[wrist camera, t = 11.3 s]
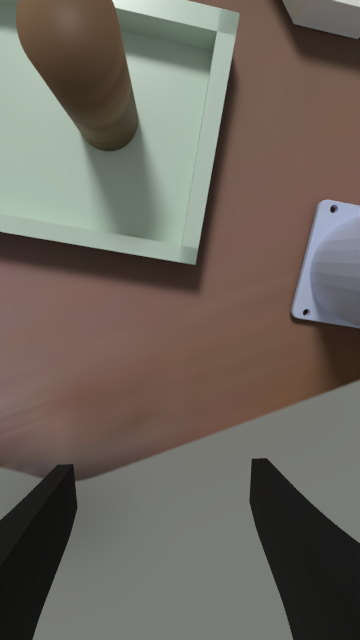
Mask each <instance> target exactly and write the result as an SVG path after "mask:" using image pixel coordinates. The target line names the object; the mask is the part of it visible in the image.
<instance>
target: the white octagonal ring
mask: <svg viewBox="0 0 360 640" xmlns="http://www.w3.org/2000/svg"><path fill="white" fill-rule="evenodd" d="M282 1H283V3H284V5H285V7H286V9H287V11H288V13H289V15H290V17H291V19H292V21H293V23H294V24H296V25H300V26H304V27H308V28H312V29H317V30H321V31H325V32H329V33H333V34H337V35H342V36H346V37H350V38H354V39H358V38H359V37H360V0H282Z"/></svg>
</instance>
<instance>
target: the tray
mask: <svg viewBox="0 0 360 640" xmlns="http://www.w3.org/2000/svg"><path fill="white" fill-rule="evenodd" d="M112 1H113V3H114V6H115V9H116V13H117V17H118V21H119V26H120V31H121V36H122V41H123V45H124V50H125V55H126V60H127V65H128V69H129V74H130V79H131V84H132V89H133V93H134V98H135V103H136V108H137V113H138V126H137V130H136V133H135V135H134V137H133V139H132V140H131V141H130V142H129V144H127V145H126V146H125V147H123V148H121V149H119V150H116V151H103V150H99V149H97V148H95V147H93V146H92V145H91V144H89V143H88V142H87V141H86V140H85V138H84V137H83V136H82V134H81V133H80V131H79V130H78V128H77V127H76V126H75V124H74V123H73V121H72V120H71V118H70V117H69V116H68V114H67V113H66V111H65V110H64V109H63V107H62V106H61V104H60V103H59V101H58V100H57V99H56V97H55V96H54V94H53V93H52V91H51V90H50V89H49V87H48V86H47V84H46V83H45V81H44V80H43V79H42V77H41V76H40V74H39V73H38V72H37V70H36V69H35V67H34V66H33V64H32V63H31V62H30V60H29V59H28V57H27V55H26V54H25V52H24V50H23V48H22V46H21V43H20V40H19V37H18V33H17V27H16V9H17V3H18V0H0V232H5V233H10V234H16V235H22V236H28V237H34V238H40V239H46V240H52V241H57V242H63V243H69V244H75V245H81V246H87V247H93V248H99V249H105V250H110V251H116V252H122V253H128V254H134V255H140V256H146V257H152V258H157V259H163V260H169V261H175V262H181V263H187V264H193V265H195V264H196V259H197V253H198V247H199V242H200V236H201V230H202V224H203V219H204V213H205V207H206V202H207V196H208V190H209V185H210V179H211V173H212V168H213V162H214V156H215V151H216V145H217V139H218V133H219V128H220V122H221V116H222V111H223V105H224V99H225V94H226V88H227V82H228V77H229V71H230V65H231V60H232V54H233V48H234V42H235V37H236V31H237V25H238V20H239V14H240V13H238V12H233V11H229V10H225V9H221V8H217V7H212V6H208V5H204V4H200V3H196V2H191V1H187V0H112Z"/></svg>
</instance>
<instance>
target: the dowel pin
mask: <svg viewBox="0 0 360 640" xmlns="http://www.w3.org/2000/svg"><path fill="white" fill-rule="evenodd" d="M16 27H17V33H18V37H19V40H20V43H21V46H22V48H23V50H24V52H25V54H26V55H27V57H28V59H29V60H30V62H31V63H32V64H33V66H34V67H35V69H36V70H37V72H38V73H39V74H40V76H41V77H42V79H43V80H44V81H45V83H46V84H47V86H48V87H49V89H50V90H51V91H52V93H53V94H54V96H55V97H56V99H57V100H58V101H59V103H60V104H61V106H62V107H63V109H64V110H65V111H66V113H67V114H68V116H69V117H70V118H71V120H72V121H73V123H74V124H75V126H76V127H77V128H78V130H79V131H80V133H81V134H82V136H83V137H84V138H85V140H86V141H87V142H88V143H89V144H91V145H92V146H93V147H95V148H97V149H99V150H103V151H116V150H119V149H121V148H123V147H125V146H126V145H127V144H129V142H130V141H131V140H132V139H133V137H134V135H135V133H136V130H137V126H138V113H137V108H136V103H135V98H134V93H133V89H132V84H131V79H130V74H129V69H128V65H127V60H126V55H125V50H124V45H123V41H122V36H121V31H120V26H119V21H118V17H117V13H116V9H115V6H114V3H113V1H112V0H18V3H17V9H16Z"/></svg>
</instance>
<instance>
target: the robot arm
mask: <svg viewBox="0 0 360 640" xmlns="http://www.w3.org/2000/svg"><path fill="white" fill-rule="evenodd" d="M331 206H333V207H334V208H335V211H334V213H331V211H330V208H331ZM305 309H307V310H308V312H307V314H306V315H303V311H304V310H305ZM291 314H292V316H293V317H296V318H299V319H305V320H311V321H318V322H324V323H330V324H336V325H342V326H349V327H355V328H360V206H358V205H353V204H348V203H343V202H338V201H332V200H324V201H321V202H320V203H319V204H318V206H317V208H316V212H315V216H314V220H313V224H312V228H311V232H310V236H309V240H308V244H307V248H306V252H305V256H304V260H303V264H302V268H301V272H300V276H299V280H298V284H297V288H296V292H295V295H294V299H293V303H292V307H291ZM250 486H251V487H250V505H251V510H252V514H253V518H254V522H255V526H256V529H257V532H258V535H259V538H260V541H261V543H262V546H263V549H264V552H265V555H266V557H267V560H268V563H269V565H270V568H271V571H272V574H273V577H274V579H275V582H276V585H277V588H278V590H279V593H280V596H281V599H282V602H283V605H284V608H285V611H286V614H287V618H288V622H289V625H290V629H291V633H292V636H293V640H360V543H358V542H357V541H356V540H354V539H353V538H352V537H351V536H349V535H348V534H347V533H346V532H344V531H343V530H341V529H340V528H339V527H338V526H337V525H335V524H334V523H333V522H332V521H331V520H329V519H328V518H327V517H326V516H325V515H324V514H323V513H321V512H320V511H319V510H318V509H317V508H316V507H314V505H312V504H311V503H310V502H309V501H308V500H307V499H306V498H305V497H304V496H303V495H302V494H301V493H300V492H299V491H298V490H297V489H296V488H294V486H293V485H292V484H291V483H290V482H289V481H288V480H287V479H286V478H285V477H284V476H283V475H282V474H281V473H280V472H279V471H278V470H277V468H276V467H275V466H274V465H273V464H272V463H271V462H270V461H269V460H268V459H267V458H264V459H263V458H260V459H252V466H251V484H250ZM76 511H77V498H76V488H75V478H74V468H73V464H69V465H57V466H56V467H55V468H54V469H53V470H52V471H51V472H50V473H49V474H48V475H47V476H46V477H45V478H44V479H43V480H42V481H41V482H40V483H39V484H38V485H37V486H36V487H35V488H34V489H33V490H32V491H31V492H30V493H29V494H28V495H27V496H26V497H25V498H24V499H23V500H22V501H21V502H20V503H19V504H17V505H16V506H15V507H14V508H13V509H12V510H11V511H10V512H9V513H8V514H7V515H6V516H4V517H3V519H1V520H0V640H32V639H33V636H34V632H35V629H36V626H37V623H38V620H39V617H40V614H41V611H42V608H43V606H44V603H45V600H46V598H47V595H48V593H49V590H50V587H51V585H52V582H53V580H54V577H55V574H56V572H57V569H58V566H59V563H60V561H61V558H62V556H63V553H64V551H65V548H66V545H67V542H68V540H69V537H70V533H71V530H72V526H73V522H74V519H75V515H76Z"/></svg>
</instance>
